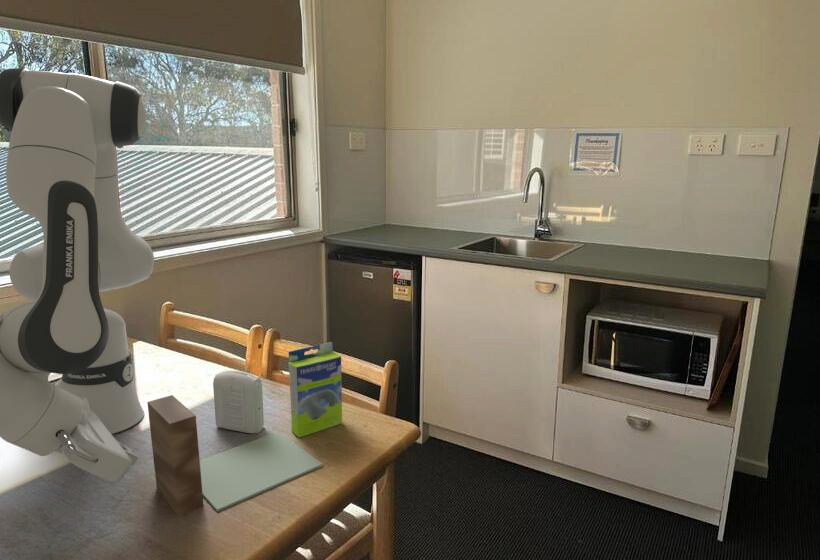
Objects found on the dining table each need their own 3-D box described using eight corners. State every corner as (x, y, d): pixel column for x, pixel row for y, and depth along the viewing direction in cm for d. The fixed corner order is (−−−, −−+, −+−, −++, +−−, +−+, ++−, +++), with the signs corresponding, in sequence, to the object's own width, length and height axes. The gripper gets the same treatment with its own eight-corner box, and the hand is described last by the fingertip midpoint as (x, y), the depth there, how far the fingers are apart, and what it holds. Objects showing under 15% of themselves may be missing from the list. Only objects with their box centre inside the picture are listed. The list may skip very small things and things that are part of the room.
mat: (217, 511, 90) (217, 509, 90) (179, 469, 102) (179, 467, 102) (322, 465, 103) (322, 463, 103) (278, 433, 115) (278, 431, 115)
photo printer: (267, 426, 118) (264, 371, 115) (256, 436, 114) (252, 379, 111) (225, 419, 121) (221, 365, 118) (212, 428, 117) (208, 372, 114)
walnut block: (178, 516, 89) (169, 423, 85) (156, 488, 96) (147, 401, 93) (203, 505, 92) (195, 415, 88) (180, 479, 99) (172, 395, 95)
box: (299, 439, 113) (295, 357, 109) (289, 430, 116) (286, 351, 112) (344, 423, 119) (342, 346, 115) (334, 416, 122) (332, 340, 118)
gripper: (85, 428, 72) (170, 468, 81) (51, 380, 87) (126, 418, 96) (50, 472, 70) (140, 508, 79) (21, 416, 85) (100, 451, 94)
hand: (132, 458), depth 87 cm, fingers closed
